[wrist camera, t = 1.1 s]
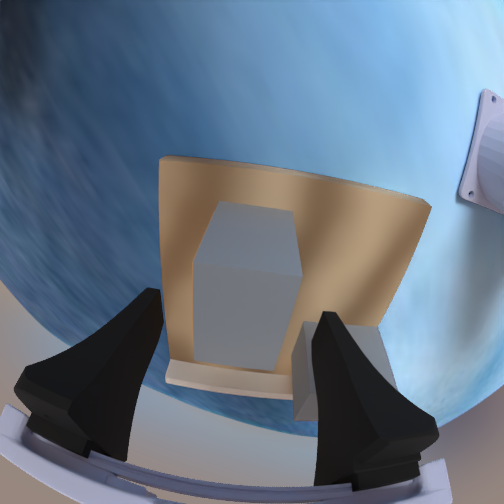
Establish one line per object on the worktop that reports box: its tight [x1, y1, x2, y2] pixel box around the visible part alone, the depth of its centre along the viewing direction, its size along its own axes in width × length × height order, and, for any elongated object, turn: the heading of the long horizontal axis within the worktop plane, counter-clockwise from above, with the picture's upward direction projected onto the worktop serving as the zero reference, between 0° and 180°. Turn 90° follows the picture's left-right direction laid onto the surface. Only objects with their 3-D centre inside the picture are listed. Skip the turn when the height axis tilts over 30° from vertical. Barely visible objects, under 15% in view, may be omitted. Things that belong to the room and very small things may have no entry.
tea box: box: [192, 201, 303, 371], centre depth 14 cm, size 6×4×6 cm
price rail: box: [165, 359, 293, 400], centre depth 23 cm, size 16×1×2 cm, turn 83°
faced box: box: [291, 321, 398, 421], centre depth 18 cm, size 6×4×6 cm
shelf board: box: [159, 155, 432, 376], centre depth 20 cm, size 16×18×1 cm
